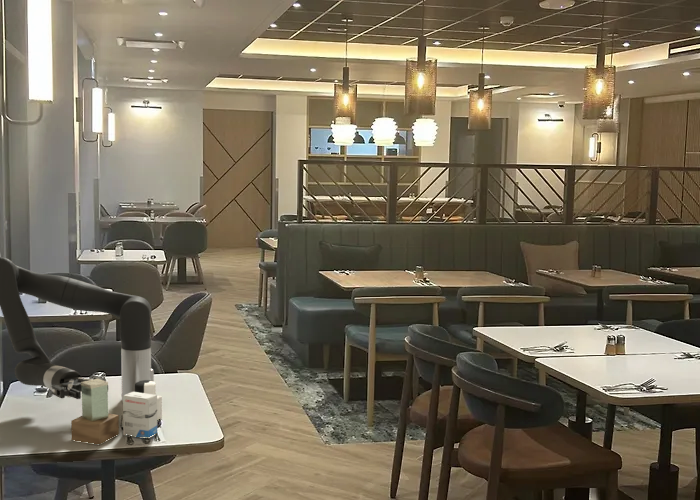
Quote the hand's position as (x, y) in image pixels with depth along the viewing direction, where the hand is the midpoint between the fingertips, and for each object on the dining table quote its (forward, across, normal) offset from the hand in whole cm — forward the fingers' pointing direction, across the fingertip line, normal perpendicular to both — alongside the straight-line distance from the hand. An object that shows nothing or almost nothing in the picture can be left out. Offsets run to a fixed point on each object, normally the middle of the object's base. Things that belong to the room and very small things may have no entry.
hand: (93, 392), depth 221 cm
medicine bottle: (-1, +18, +13) cm, 22 cm away
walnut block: (+1, 0, +13) cm, 13 cm away
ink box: (+8, +10, +13) cm, 18 cm away
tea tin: (+1, 0, +7) cm, 7 cm away
